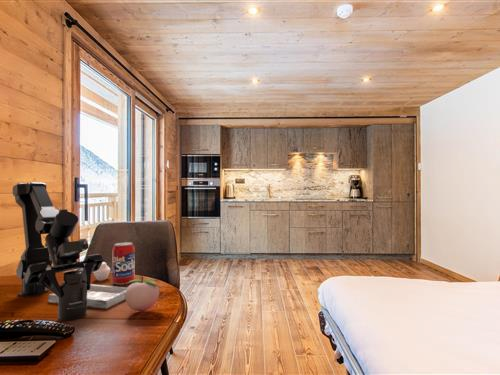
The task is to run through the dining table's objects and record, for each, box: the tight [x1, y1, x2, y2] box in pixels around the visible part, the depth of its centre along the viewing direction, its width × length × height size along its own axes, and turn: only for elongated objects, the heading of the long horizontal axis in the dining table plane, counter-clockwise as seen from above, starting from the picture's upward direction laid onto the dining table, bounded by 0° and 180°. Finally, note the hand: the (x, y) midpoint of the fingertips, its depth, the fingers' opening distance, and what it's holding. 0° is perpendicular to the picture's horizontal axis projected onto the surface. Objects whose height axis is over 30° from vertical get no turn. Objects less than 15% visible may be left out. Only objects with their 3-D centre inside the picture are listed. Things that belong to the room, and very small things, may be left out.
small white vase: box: [92, 261, 111, 281], centre depth 117 cm, size 6×6×7 cm
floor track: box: [48, 283, 128, 310], centre depth 95 cm, size 22×12×2 cm, turn 74°
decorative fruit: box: [125, 276, 160, 313], centre depth 83 cm, size 9×8×10 cm
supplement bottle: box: [57, 270, 88, 322], centre depth 81 cm, size 7×7×12 cm
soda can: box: [111, 242, 136, 286], centre depth 112 cm, size 8×8×15 cm
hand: (75, 293), depth 80 cm, fingers closed on supplement bottle, 7 cm apart
